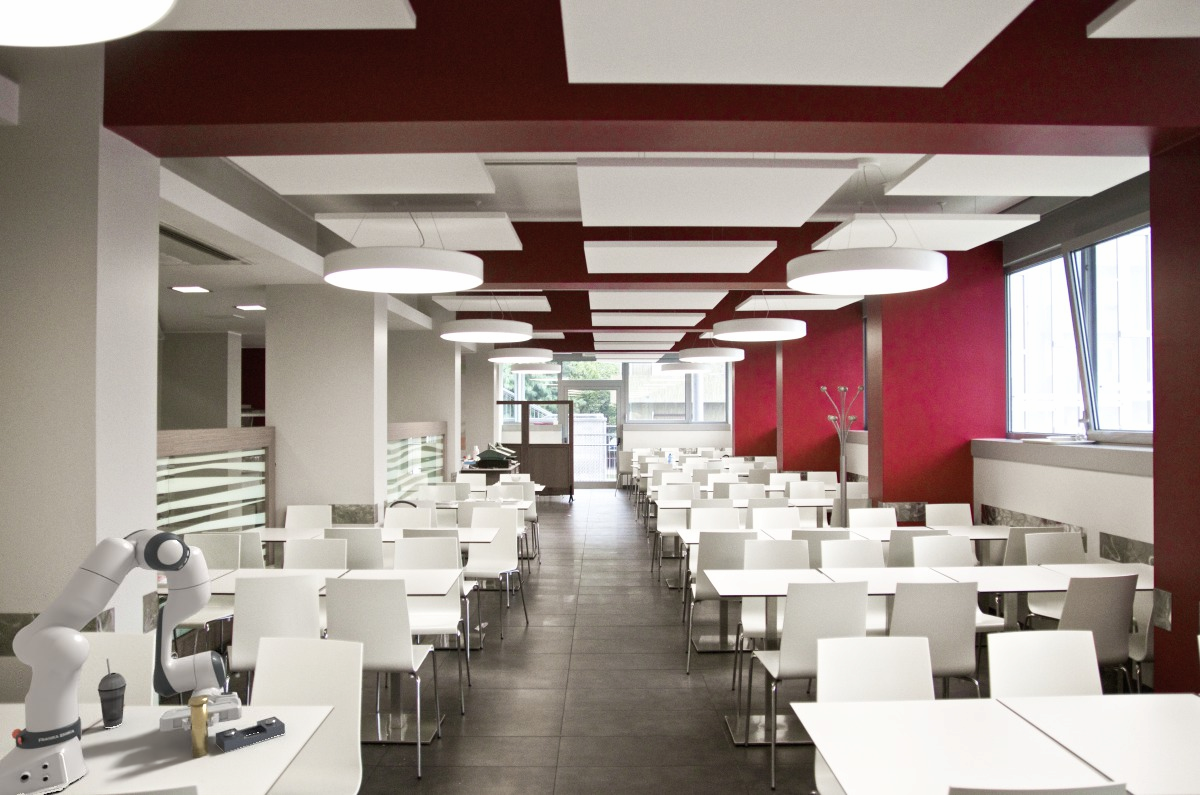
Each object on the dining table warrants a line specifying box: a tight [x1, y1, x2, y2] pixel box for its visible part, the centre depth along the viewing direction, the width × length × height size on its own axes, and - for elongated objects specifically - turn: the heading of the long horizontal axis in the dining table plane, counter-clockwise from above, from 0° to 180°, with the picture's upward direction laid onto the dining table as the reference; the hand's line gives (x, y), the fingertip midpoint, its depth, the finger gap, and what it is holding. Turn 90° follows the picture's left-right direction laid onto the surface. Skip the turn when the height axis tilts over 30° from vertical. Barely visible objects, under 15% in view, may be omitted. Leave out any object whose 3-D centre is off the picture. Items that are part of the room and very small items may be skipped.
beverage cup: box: [97, 658, 127, 727], centre depth 231 cm, size 7×7×20 cm
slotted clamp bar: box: [215, 716, 286, 753], centre depth 217 cm, size 16×8×4 cm, turn 132°
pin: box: [188, 695, 210, 759], centre depth 208 cm, size 5×5×15 cm
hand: (199, 725), depth 207 cm, fingers closed on pin, 4 cm apart
